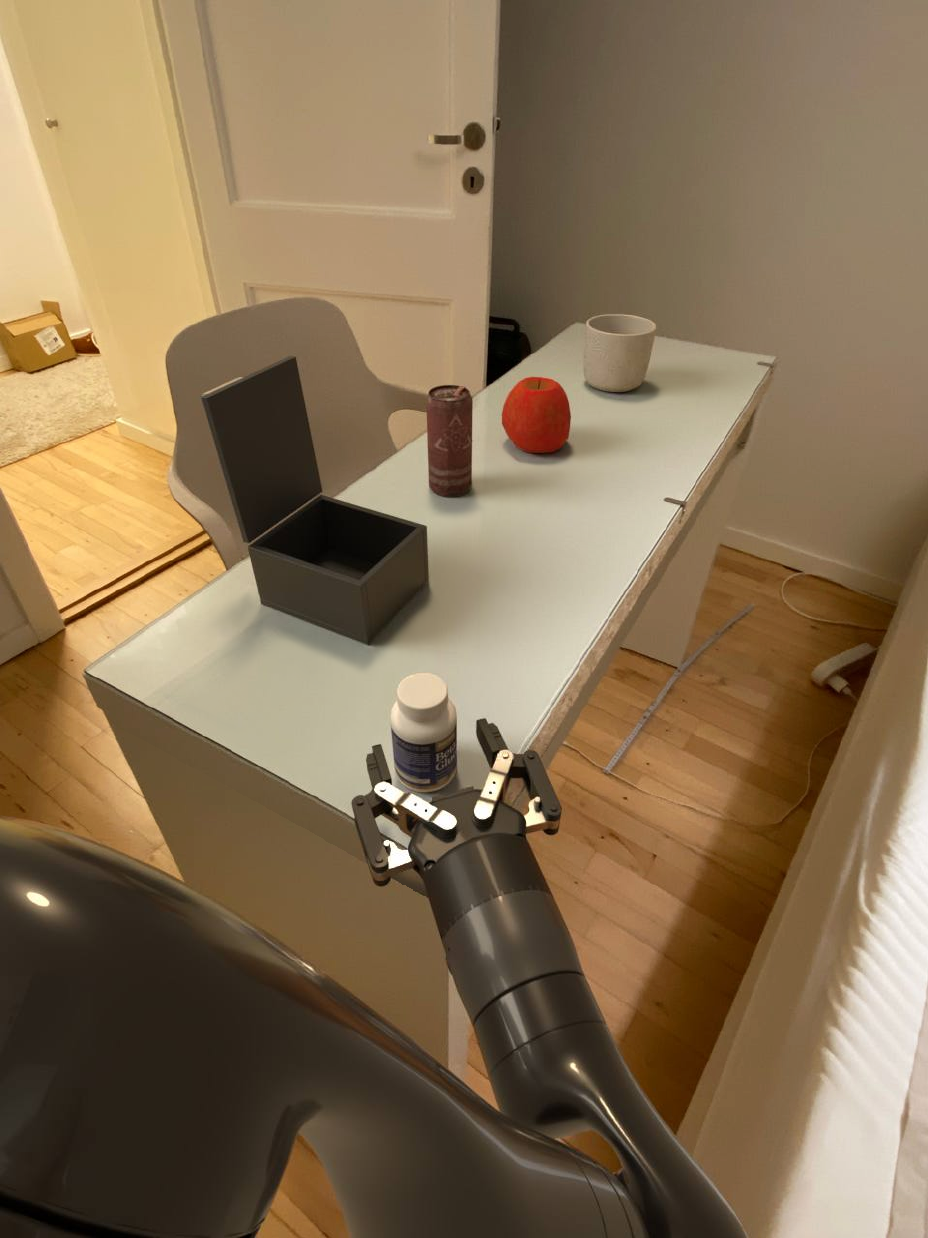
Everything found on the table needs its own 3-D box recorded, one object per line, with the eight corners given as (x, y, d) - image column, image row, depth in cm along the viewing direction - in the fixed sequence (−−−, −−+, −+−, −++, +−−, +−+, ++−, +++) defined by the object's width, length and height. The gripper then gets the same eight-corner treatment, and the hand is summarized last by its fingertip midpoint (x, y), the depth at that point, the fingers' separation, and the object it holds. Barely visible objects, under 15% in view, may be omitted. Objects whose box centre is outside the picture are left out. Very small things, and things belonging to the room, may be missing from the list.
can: (480, 483, 98) (482, 388, 90) (456, 502, 94) (456, 404, 85) (445, 472, 101) (443, 379, 92) (420, 490, 97) (416, 394, 88)
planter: (657, 394, 125) (669, 332, 118) (593, 399, 122) (601, 337, 115) (629, 370, 134) (638, 311, 127) (570, 375, 132) (576, 316, 125)
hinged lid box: (429, 582, 80) (426, 525, 75) (367, 645, 71) (361, 586, 66) (328, 549, 85) (320, 494, 80) (260, 604, 77) (246, 546, 72)
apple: (487, 442, 109) (488, 376, 102) (536, 424, 114) (540, 360, 108) (533, 466, 103) (538, 397, 96) (583, 446, 108) (591, 379, 101)
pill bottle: (445, 801, 57) (443, 722, 50) (385, 786, 58) (376, 707, 52) (464, 752, 61) (465, 673, 54) (408, 738, 62) (402, 660, 55)
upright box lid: (296, 356, 70) (256, 351, 73) (206, 397, 62) (165, 390, 64) (322, 491, 80) (287, 483, 82) (248, 543, 71) (211, 533, 74)
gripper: (613, 864, 42) (514, 684, 53) (386, 938, 38) (334, 728, 50) (597, 923, 46) (510, 746, 58) (394, 993, 43) (345, 790, 55)
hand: (429, 738), depth 54 cm, fingers open, 8 cm apart
